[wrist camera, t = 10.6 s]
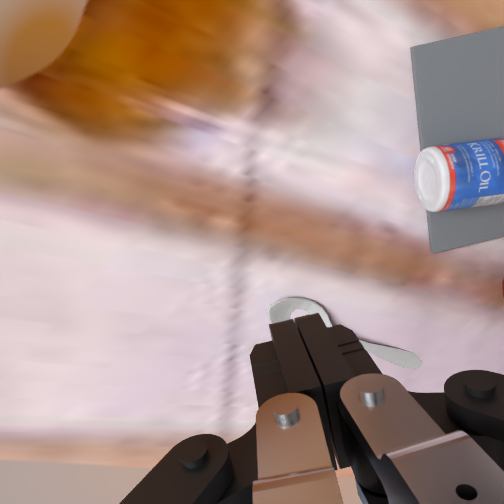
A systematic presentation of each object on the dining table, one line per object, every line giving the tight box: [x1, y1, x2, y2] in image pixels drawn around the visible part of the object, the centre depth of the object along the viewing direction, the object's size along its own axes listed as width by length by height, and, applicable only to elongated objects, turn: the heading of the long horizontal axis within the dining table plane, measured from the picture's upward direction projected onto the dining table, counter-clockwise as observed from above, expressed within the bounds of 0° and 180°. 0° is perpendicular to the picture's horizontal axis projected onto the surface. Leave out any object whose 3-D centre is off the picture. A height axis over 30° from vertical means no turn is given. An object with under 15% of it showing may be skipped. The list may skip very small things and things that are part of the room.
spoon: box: [268, 298, 422, 368], centre depth 44 cm, size 4×21×2 cm, turn 65°
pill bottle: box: [414, 137, 504, 212], centre depth 37 cm, size 6×5×10 cm
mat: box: [410, 27, 504, 253], centre depth 39 cm, size 18×11×1 cm, turn 12°
